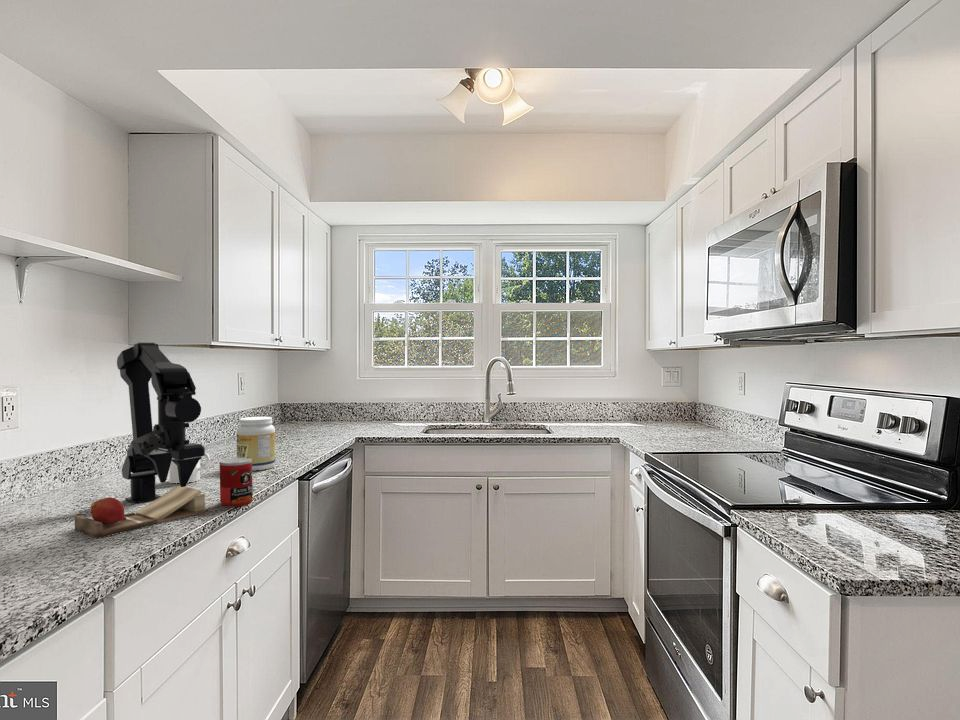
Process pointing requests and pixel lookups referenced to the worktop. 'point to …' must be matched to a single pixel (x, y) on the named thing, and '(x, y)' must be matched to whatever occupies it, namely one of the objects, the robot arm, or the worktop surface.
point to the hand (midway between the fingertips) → (172, 484)
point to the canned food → (236, 482)
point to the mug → (196, 472)
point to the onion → (108, 511)
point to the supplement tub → (257, 442)
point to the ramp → (174, 503)
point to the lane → (125, 523)
